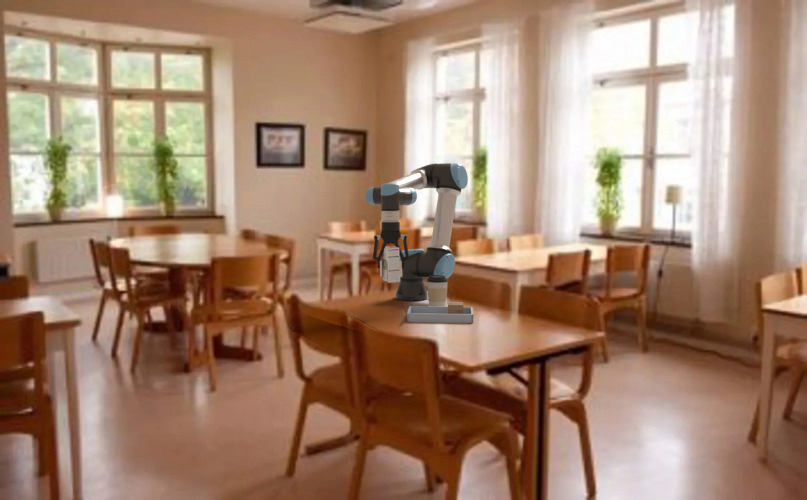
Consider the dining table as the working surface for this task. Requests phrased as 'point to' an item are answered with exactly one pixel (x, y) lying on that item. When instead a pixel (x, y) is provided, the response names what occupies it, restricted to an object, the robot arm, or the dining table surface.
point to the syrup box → (391, 264)
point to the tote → (438, 314)
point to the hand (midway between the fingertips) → (391, 276)
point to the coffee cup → (437, 290)
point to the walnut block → (455, 307)
